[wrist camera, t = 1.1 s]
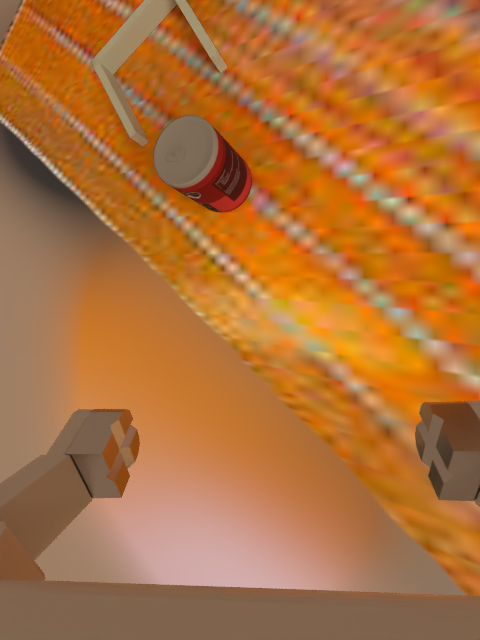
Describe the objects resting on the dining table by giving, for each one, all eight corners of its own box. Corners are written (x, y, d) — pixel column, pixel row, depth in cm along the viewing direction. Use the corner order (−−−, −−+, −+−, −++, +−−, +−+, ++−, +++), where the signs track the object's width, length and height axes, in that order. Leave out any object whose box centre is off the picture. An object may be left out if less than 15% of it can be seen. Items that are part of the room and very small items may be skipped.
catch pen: (180, -9, 51) (168, -28, 48) (227, 66, 48) (217, 51, 45) (105, 74, 57) (90, 61, 54) (143, 146, 54) (129, 137, 51)
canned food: (193, 178, 50) (143, 142, 40) (241, 145, 47) (200, 98, 37) (212, 225, 49) (166, 200, 39) (262, 194, 46) (226, 159, 36)
